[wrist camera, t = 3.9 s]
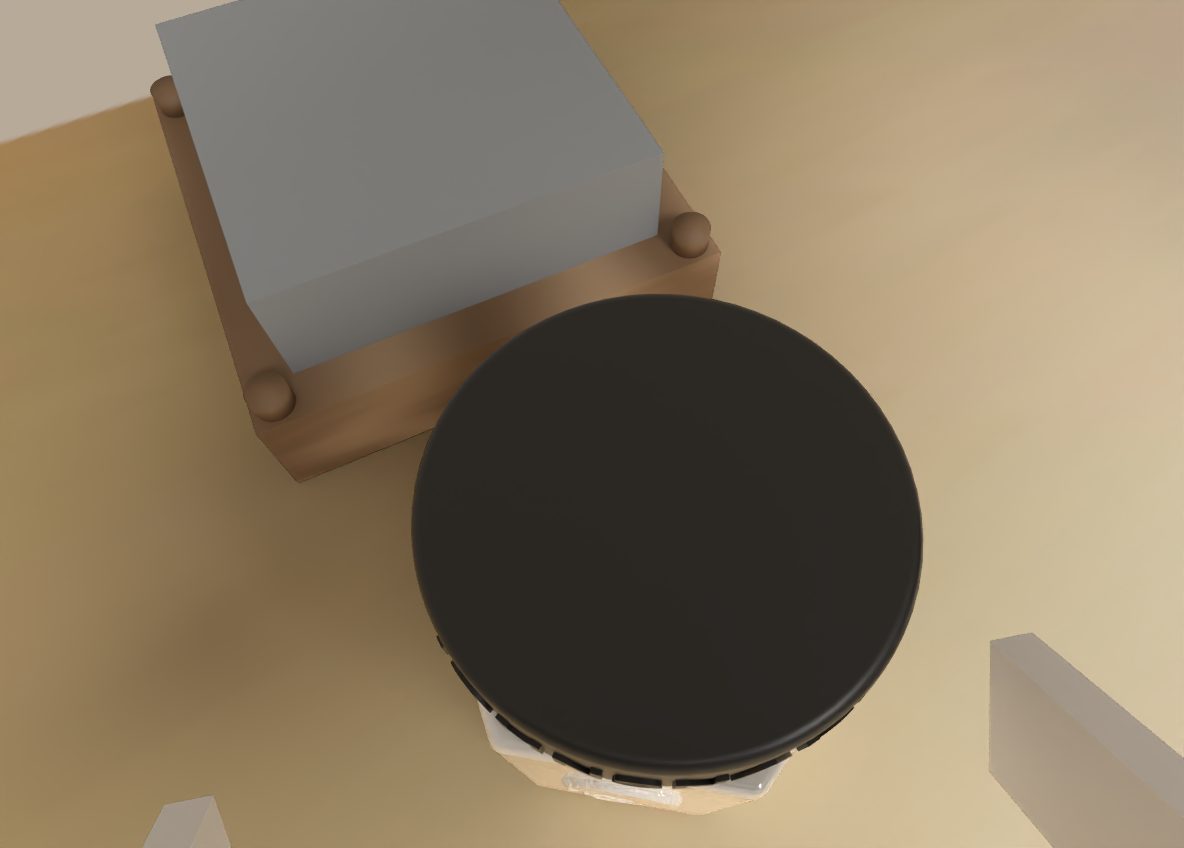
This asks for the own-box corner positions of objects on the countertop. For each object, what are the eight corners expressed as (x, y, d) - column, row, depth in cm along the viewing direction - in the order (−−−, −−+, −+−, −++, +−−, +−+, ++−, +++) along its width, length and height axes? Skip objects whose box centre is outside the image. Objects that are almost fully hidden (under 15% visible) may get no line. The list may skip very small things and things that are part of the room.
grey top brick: (514, 14, 31) (504, -78, 28) (657, 235, 26) (663, 152, 23) (204, 112, 29) (155, 24, 26) (293, 373, 24) (246, 303, 21)
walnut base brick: (541, 57, 35) (533, -39, 31) (708, 316, 29) (724, 235, 25) (197, 170, 32) (142, 80, 29) (298, 483, 26) (244, 421, 22)
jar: (453, 778, 22) (308, 719, 11) (516, 502, 26) (451, 260, 15) (786, 840, 21) (968, 839, 10) (801, 545, 25) (948, 322, 14)
